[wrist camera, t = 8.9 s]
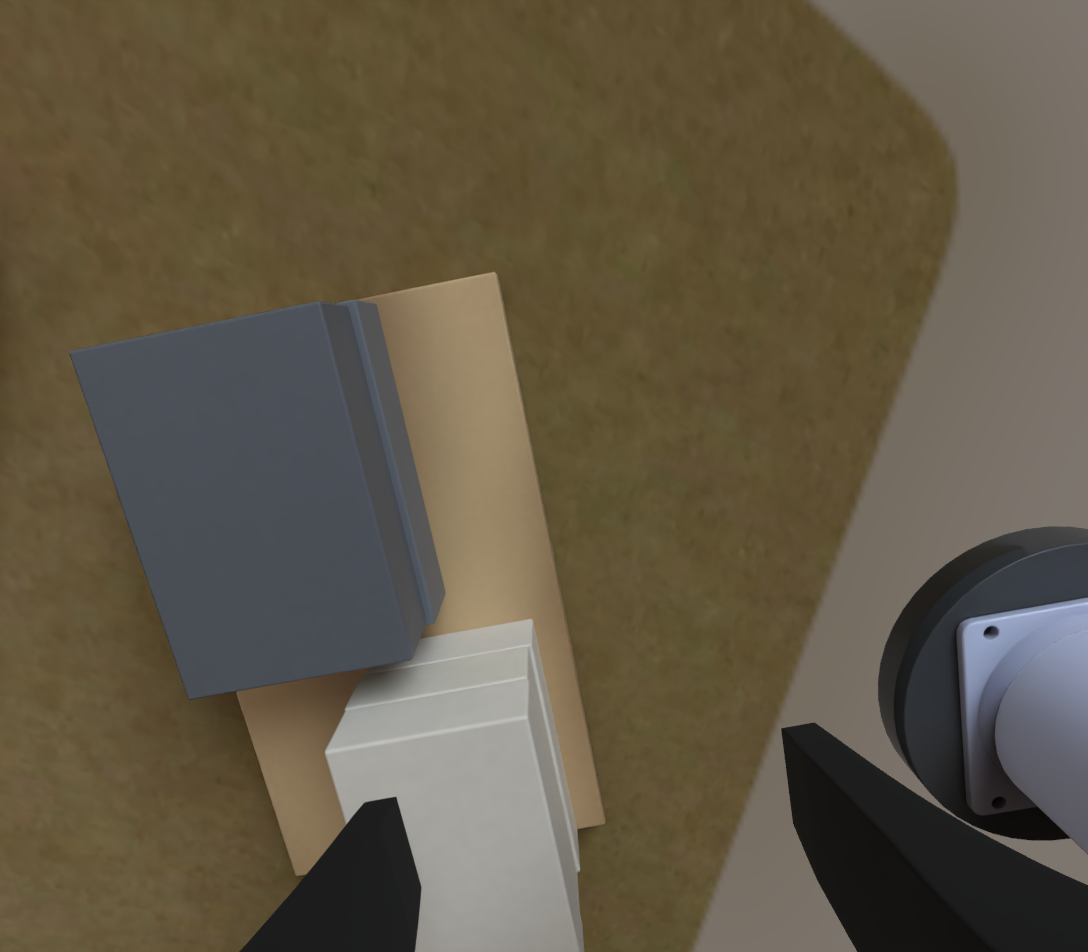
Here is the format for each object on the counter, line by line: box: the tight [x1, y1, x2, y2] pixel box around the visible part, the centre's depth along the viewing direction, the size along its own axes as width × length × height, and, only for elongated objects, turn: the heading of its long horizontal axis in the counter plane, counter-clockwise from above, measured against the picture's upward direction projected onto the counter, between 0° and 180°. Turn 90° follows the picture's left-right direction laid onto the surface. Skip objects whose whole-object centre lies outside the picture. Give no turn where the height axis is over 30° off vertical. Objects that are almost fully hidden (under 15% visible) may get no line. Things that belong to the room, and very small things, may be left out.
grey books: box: [70, 300, 446, 700], centre depth 17 cm, size 6×9×4 cm, turn 11°
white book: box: [325, 679, 584, 952], centre depth 17 cm, size 5×8×2 cm, turn 11°
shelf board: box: [236, 272, 606, 876], centre depth 21 cm, size 11×18×1 cm, turn 11°
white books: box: [344, 619, 580, 912], centre depth 20 cm, size 5×8×4 cm, turn 11°
